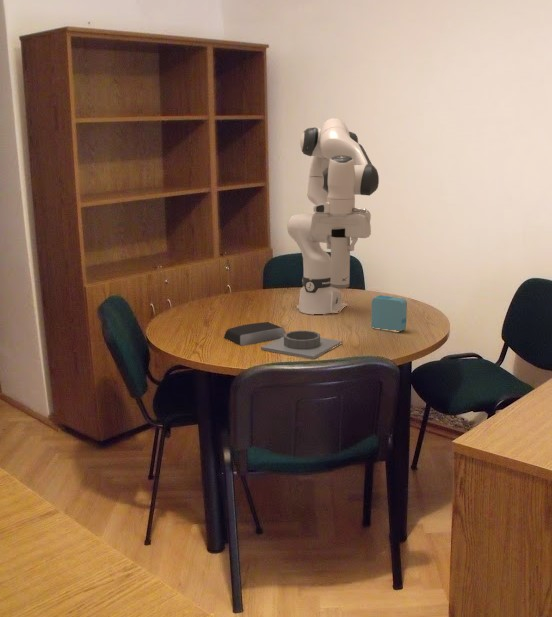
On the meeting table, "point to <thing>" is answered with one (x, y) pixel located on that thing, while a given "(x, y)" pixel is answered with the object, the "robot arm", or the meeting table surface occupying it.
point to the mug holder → (301, 344)
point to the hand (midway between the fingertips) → (340, 249)
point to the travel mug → (340, 259)
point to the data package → (389, 313)
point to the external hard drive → (254, 333)
